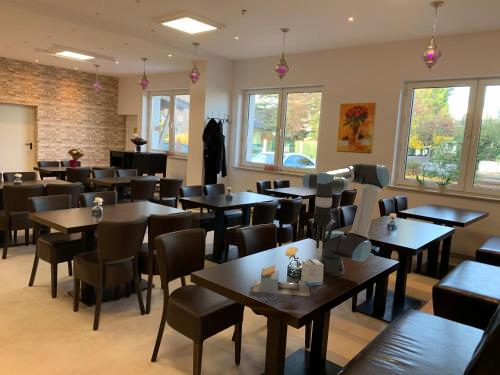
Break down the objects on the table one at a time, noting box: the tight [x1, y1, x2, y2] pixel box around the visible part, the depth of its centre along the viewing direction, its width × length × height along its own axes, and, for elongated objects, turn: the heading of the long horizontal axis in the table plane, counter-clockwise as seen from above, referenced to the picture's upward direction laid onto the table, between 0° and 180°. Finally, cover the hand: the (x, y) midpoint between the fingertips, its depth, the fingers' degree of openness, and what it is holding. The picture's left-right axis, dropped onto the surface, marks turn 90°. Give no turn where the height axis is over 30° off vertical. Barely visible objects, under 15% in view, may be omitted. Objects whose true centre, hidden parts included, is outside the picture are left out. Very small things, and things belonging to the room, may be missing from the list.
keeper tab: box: [260, 264, 276, 278], centre depth 180 cm, size 7×10×1 cm
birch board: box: [251, 280, 311, 297], centre depth 180 cm, size 27×13×1 cm, turn 84°
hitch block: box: [259, 270, 280, 294], centre depth 180 cm, size 8×12×6 cm, turn 174°
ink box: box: [300, 257, 324, 287], centre depth 190 cm, size 9×8×13 cm
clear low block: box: [278, 279, 307, 293], centre depth 179 cm, size 14×6×4 cm, turn 84°
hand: (319, 255), depth 176 cm, fingers closed
